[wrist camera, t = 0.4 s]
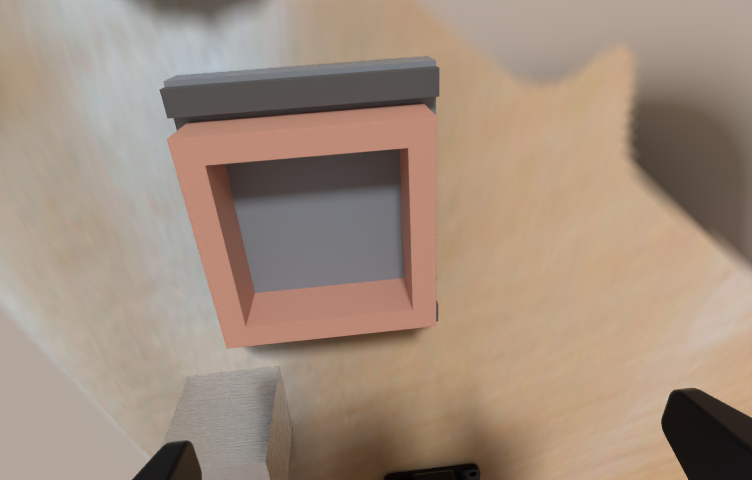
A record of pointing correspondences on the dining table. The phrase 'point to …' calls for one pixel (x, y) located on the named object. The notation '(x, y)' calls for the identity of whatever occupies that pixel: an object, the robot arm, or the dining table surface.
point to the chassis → (312, 195)
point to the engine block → (236, 424)
